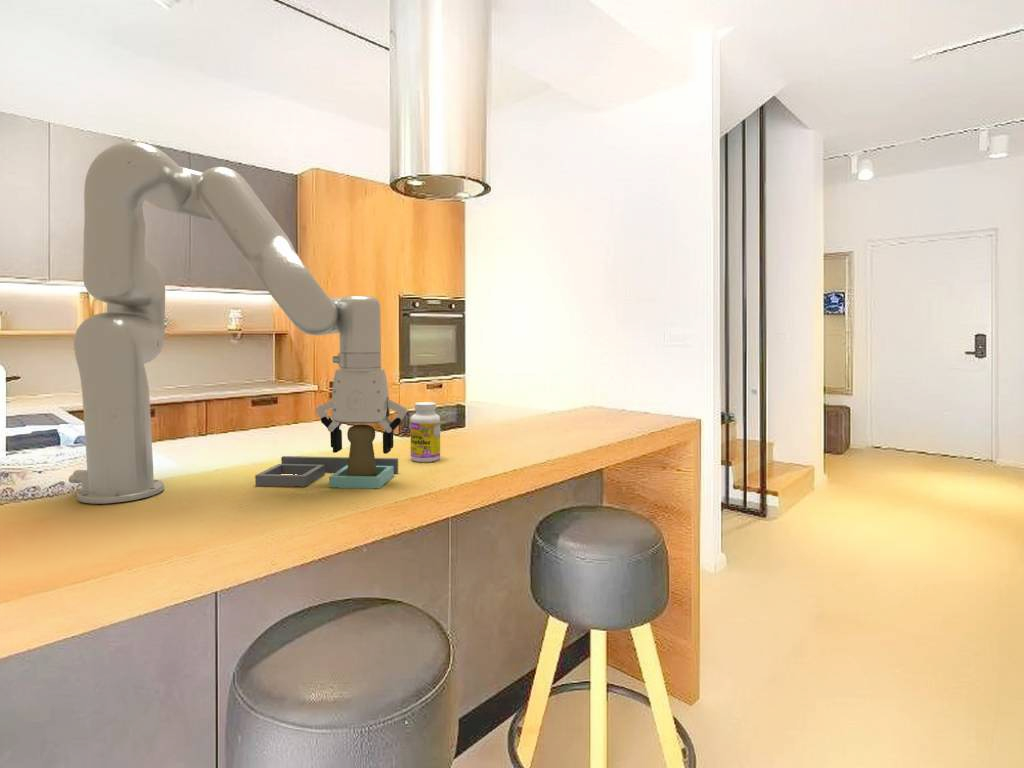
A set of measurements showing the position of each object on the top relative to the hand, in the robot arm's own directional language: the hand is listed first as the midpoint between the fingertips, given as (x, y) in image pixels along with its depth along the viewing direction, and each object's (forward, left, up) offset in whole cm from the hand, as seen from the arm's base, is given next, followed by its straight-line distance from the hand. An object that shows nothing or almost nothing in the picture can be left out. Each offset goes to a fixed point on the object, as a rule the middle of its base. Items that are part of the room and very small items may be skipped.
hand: (362, 451), depth 110 cm
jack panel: (-7, +1, -6) cm, 9 cm away
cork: (0, 0, -6) cm, 6 cm away
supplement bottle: (+8, +20, -6) cm, 22 cm away
